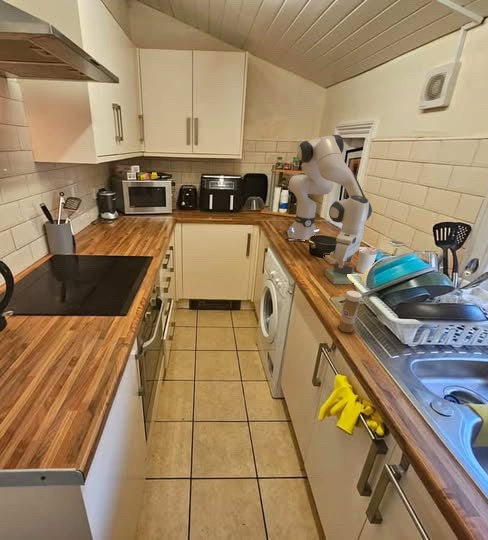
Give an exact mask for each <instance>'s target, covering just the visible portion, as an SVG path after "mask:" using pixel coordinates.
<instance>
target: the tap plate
mask: <svg viewBox="0 0 488 540" xmlns="http://www.w3.org/2000/svg"><path fill="white" fill-rule="evenodd" d="M353 274H357V272H355V271H353ZM324 276H325V277H326V278H327V279H328V281H330V282H331V283H332V284H333V285H353V284H352V283H351V282H350V281H349V279H348V277H347V275H345V274H341V273H338V272H335V271H334V268H325V271H324Z"/></svg>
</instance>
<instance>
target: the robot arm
mask: <svg viewBox="0 0 488 540" xmlns="http://www.w3.org/2000/svg"><path fill="white" fill-rule="evenodd" d="M344 148H345V142H344V139H343V137H342V135H340V134H332V135H324V136H319V137H316V138H312V139H309V140H304V141H302V142H300V143H299V145H298V149H297V156H298V160H299V161H300V162H302V172H303V174H295V175H292V176H291V178H290V179H289V181H288V189H289V190H290V192H291V193H293V194H294V197H295V198H296V201H297V211H296V216H295V218H294V221H293V222H291V225H289V226H288V230H287V231H286V235H287V238H289V239H294V240H297V239H309V238H310V237H311V236H314V235H315V236H316V232H319V231H320V229H317V225H316V224H315V223H316V213H317V203H316V202H315V201H314V200H313V199H310V197H309V196H308V195H316V196H324V195H329V194H330V193H331V192H332V190H333V188H334V183H336V184H338V185H340V186H341V187H343V188H344V189H345V190H346V193H347V194H348V198H347V199H346V198H345V199H341V200H336V201H333V203H331V205H330V206H329V210H328V216H329V218H330V220H331V221H332V222H334V223H339V224H342V226H341V229H340V232H339V233H338V235H337V236H336V239H335V241H336V245H335V249H334V250H335V259H336V260H338V261H339V266H338V267H339V268H343V267H344V261H345V259H347V262H349V264H350V263H352V261H353V257H354V255H355V254H356V253H357V252H359V250H360V247H361V242H362V241H363V237H364V232H365V224H366V222H367V221H368V220H369V218H370V217H371V216H372V213H373V208H372V204H371V203H370V201H369V199H368V198H367V197H366V196H365V193H364V192H363V189H362V187H361V184H360V183H359V180H358V178H357V176H356V175H355V173H354V171H353V170H352V169H351V168H350V167H348V165H347V163H346V162H345V160H344V158H343V155H342V154H343V152H344Z"/></svg>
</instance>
